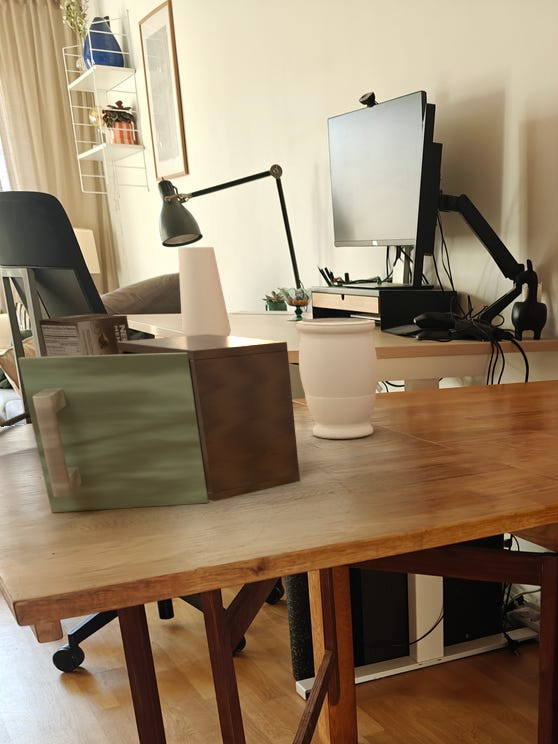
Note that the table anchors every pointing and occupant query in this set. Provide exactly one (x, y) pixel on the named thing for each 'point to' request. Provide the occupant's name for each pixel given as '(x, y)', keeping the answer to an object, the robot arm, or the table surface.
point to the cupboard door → (115, 430)
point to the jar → (339, 375)
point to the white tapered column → (201, 293)
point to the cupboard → (237, 409)
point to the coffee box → (84, 334)
